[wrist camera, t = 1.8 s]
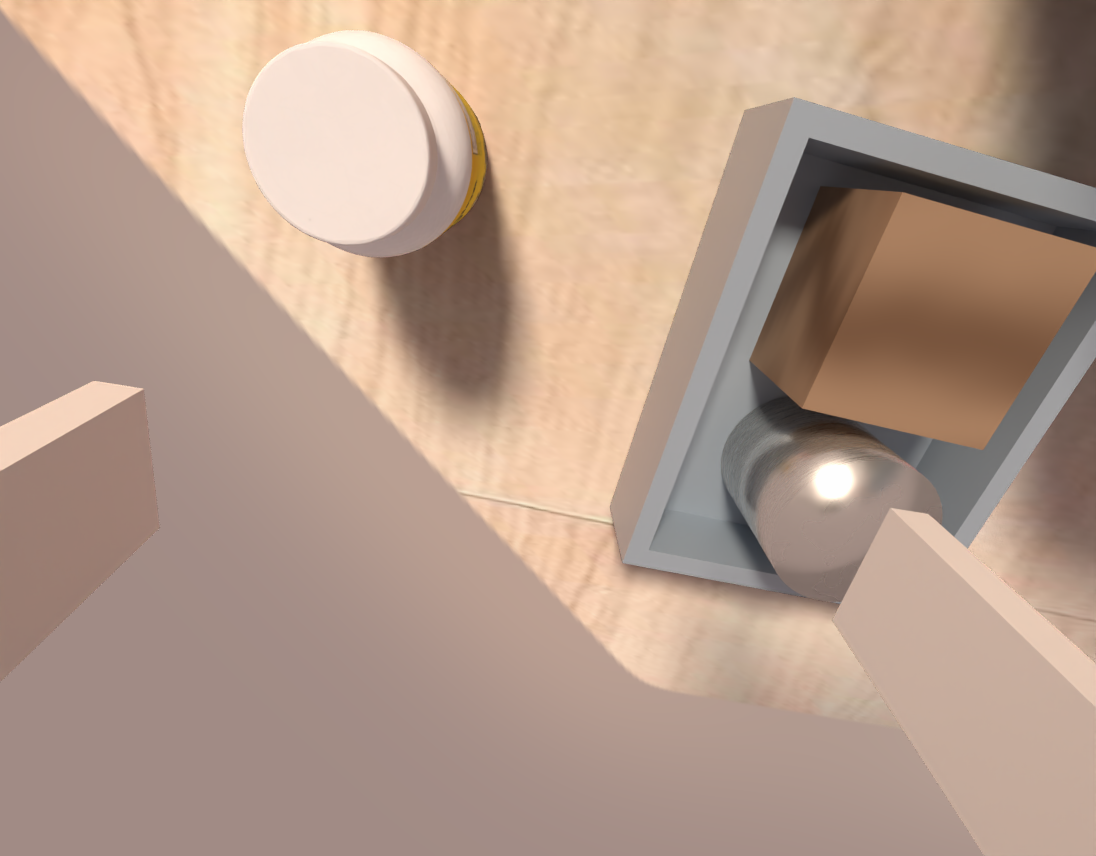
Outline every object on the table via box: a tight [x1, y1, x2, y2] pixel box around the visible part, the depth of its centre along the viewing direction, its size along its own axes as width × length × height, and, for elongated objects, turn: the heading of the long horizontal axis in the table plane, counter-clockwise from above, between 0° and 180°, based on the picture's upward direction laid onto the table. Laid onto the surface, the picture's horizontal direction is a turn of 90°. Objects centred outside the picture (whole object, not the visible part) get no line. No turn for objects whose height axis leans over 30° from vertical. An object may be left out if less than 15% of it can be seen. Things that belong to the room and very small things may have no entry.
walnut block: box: [750, 186, 1096, 450], centre depth 24 cm, size 8×8×6 cm
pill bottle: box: [242, 30, 487, 257], centre depth 19 cm, size 6×6×11 cm
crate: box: [610, 97, 1096, 604], centre depth 26 cm, size 20×16×5 cm
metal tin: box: [721, 396, 943, 602], centre depth 27 cm, size 7×7×7 cm
